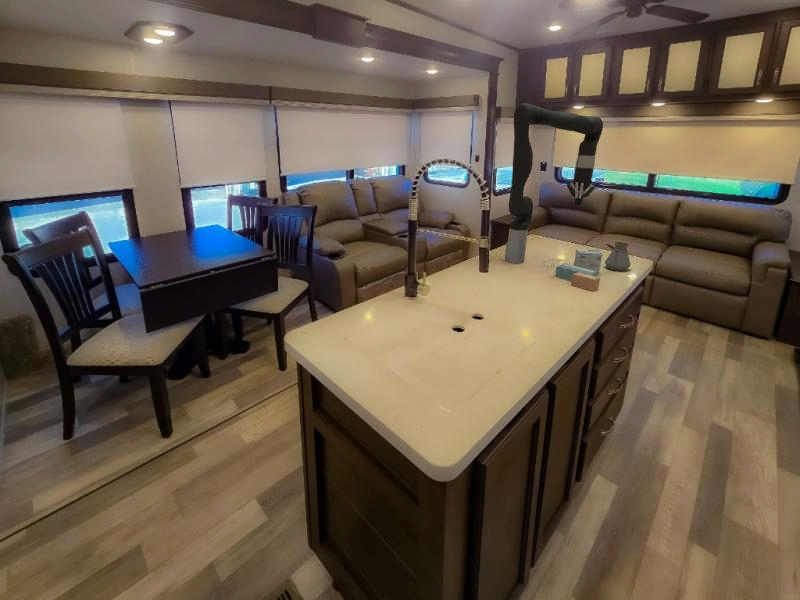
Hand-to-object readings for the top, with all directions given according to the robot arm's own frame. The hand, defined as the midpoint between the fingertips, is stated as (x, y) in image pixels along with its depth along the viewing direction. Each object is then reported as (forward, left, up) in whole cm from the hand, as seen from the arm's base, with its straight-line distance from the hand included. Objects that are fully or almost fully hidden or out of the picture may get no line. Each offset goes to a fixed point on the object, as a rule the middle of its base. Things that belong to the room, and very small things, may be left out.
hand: (577, 206), depth 187 cm
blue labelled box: (+7, -5, -32) cm, 33 cm away
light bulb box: (+5, +9, -32) cm, 34 cm away
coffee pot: (+12, +22, -32) cm, 41 cm away
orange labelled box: (+15, -12, -32) cm, 37 cm away
